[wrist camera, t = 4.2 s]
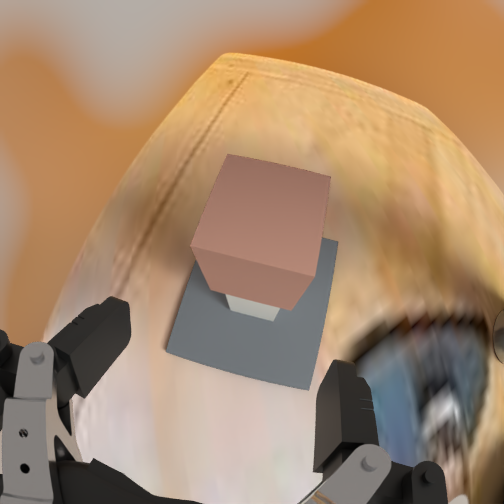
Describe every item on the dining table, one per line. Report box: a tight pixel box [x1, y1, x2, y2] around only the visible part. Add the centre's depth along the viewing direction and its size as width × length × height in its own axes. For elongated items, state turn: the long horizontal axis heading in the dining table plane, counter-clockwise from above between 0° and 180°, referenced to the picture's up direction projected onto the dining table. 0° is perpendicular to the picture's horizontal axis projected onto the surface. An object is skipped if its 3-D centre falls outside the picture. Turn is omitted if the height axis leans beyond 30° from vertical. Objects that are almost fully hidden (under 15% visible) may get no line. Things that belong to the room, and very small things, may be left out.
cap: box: [190, 154, 331, 311], centre depth 18 cm, size 6×6×8 cm
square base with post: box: [166, 238, 338, 390], centre depth 24 cm, size 18×16×18 cm
